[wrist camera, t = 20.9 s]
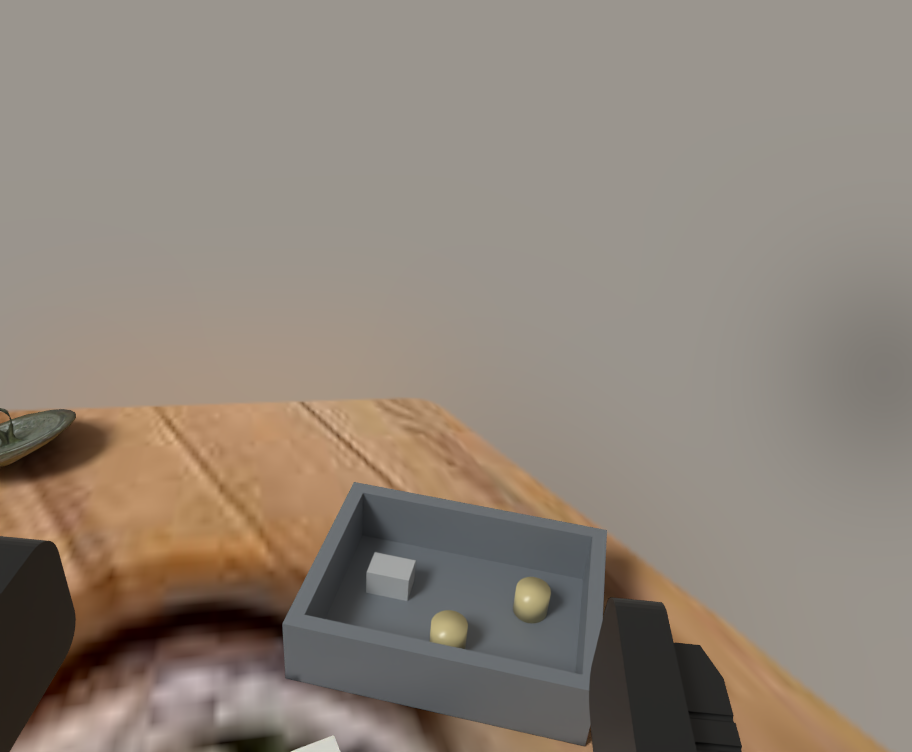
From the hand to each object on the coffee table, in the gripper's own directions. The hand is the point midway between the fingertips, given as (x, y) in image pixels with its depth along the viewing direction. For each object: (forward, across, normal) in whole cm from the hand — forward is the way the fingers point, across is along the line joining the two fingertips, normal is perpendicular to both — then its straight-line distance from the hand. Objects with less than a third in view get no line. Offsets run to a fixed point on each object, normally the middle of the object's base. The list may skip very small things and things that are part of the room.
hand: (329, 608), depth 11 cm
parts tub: (+29, -2, +34) cm, 45 cm away
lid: (+42, +36, +34) cm, 65 cm away
